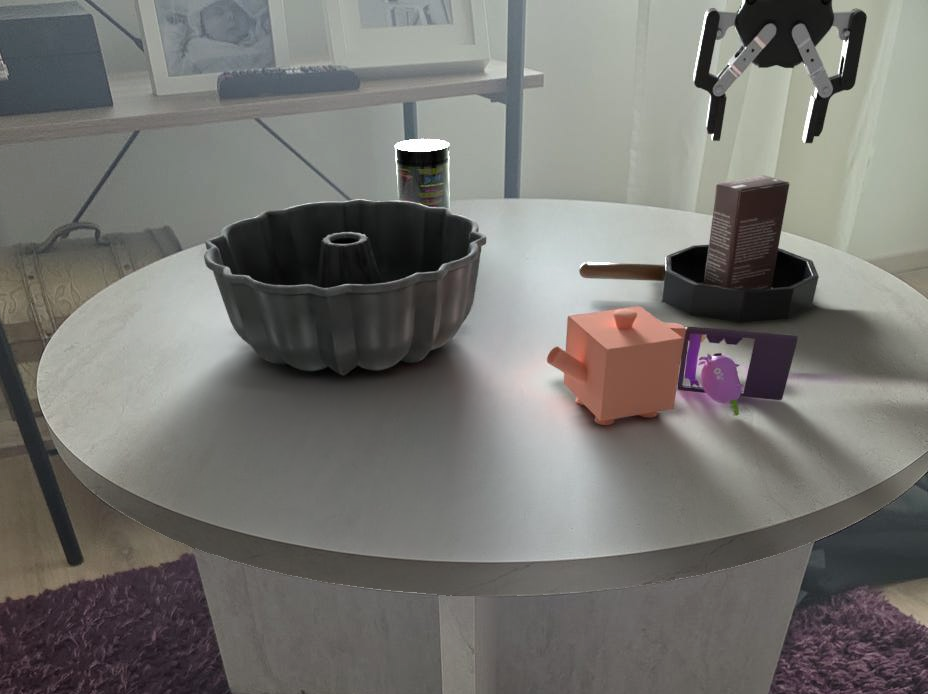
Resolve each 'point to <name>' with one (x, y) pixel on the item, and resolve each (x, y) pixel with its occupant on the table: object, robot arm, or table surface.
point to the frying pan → (728, 304)
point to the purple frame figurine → (721, 371)
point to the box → (746, 232)
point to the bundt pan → (347, 281)
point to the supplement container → (423, 172)
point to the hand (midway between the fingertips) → (761, 140)
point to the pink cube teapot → (621, 362)
